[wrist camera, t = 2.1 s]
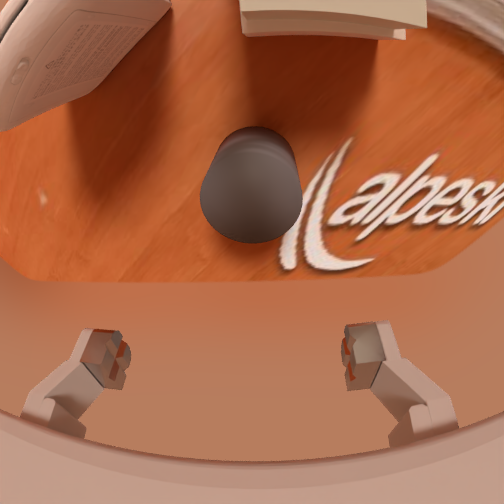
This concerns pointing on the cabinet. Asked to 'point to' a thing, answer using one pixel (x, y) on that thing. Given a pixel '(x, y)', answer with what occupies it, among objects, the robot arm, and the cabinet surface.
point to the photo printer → (64, 49)
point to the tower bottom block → (317, 29)
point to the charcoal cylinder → (252, 187)
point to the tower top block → (342, 11)
